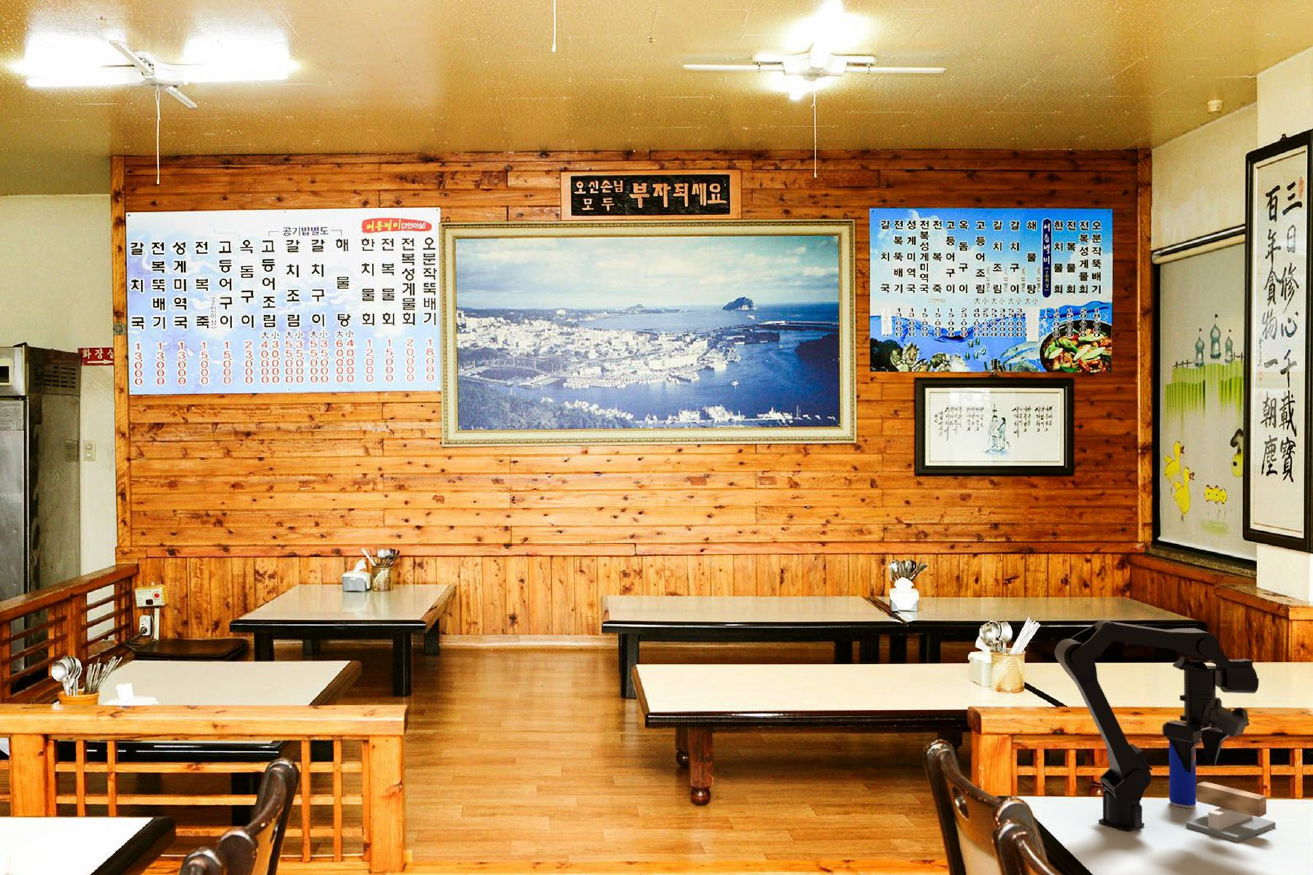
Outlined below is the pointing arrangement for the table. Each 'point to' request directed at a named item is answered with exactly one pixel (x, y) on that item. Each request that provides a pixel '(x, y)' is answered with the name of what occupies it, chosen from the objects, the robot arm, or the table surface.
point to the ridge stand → (1230, 824)
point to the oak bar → (1231, 799)
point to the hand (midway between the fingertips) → (1200, 768)
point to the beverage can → (1181, 781)
